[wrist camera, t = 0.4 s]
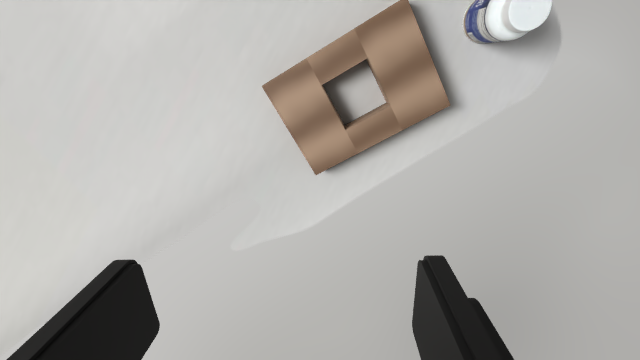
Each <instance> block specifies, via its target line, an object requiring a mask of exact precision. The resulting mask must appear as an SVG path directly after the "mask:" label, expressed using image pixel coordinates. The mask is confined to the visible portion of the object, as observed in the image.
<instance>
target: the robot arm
mask: <svg viewBox="0 0 640 360" xmlns="http://www.w3.org/2000/svg"><path fill="white" fill-rule="evenodd" d="M159 326H160V324H159V320H158V317H157V314H156V311H155V308H154V305H153V301H152V298H151V295H150V292H149V289H148V285H147V283H146V279H145V276H144V273H143V270H142V267H141V265H139V264H137V262H136V261H135V260H115V261H113V262H112V263H111V264H109V265H108V266H107V267H106V268H105V269H104V270H103V271H102V272H101V273H100V274H99V275H98V276H97V277H95V278H94V279H93V280H92V281H91V282H90V283H89V284H88V285H87V286H86V287H85V288H84V289H83V290H81V291H80V292H79V293H78V294H77V295H76V296H75V297H74V298H73V299H72V300H71V301H70V302H68V303H67V304H66V305H65V306H64V307H63V308H62V309H61V310H60V311H59V312H58V313H57V314H56V315H54V316H53V317H52V318H51V319H50V320H49V321H48V322H47V323H46V324H45V325H44V326H43V327H41V329H39V331H37V332H36V333H35V334H34V335H33V336H32V337H31V338H30V339H29V340H28V341H26V342H25V343H24V344H23V345H22V346H21V347H20V348H19V349H18V350H17V351H16V352H15V353H13V354H12V355H11V356H10V357H9V358H8V359H7V360H141V359H142V358H143V356H144V354H145V352H146V351H147V350H148V348H149V346H150V345H151V343H152V342H153V340H154V339H155V337H156V335H157V334H158V331H159ZM412 327H413V333H414V337H415V340H416V343H417V347H418V350H419V353H420V357H421V360H514V359H513V357H512V355H511V354H510V352H509V351H508V349H507V347H506V346H505V344H504V342H503V341H502V339H501V337H500V336H499V334H498V332H497V331H496V329H495V327H494V326H493V324H492V323H491V321H490V319H489V318H488V316H487V314H486V313H485V311H484V309H483V308H482V306H481V304H480V303H479V302H478V301H477V300H476V299H475V298H467V296H466V294H465V292H464V290H463V289H462V287H461V285H460V284H459V282H458V280H457V279H456V276H455V275H454V273H453V271H452V269H451V268H450V266H449V264H448V262H447V261H446V259H445V257H443V256H425V257H424V260H422V261H421V260H419V261H418V268H417V278H416V288H415V299H414V309H413V320H412Z"/></svg>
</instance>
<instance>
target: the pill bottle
mask: <svg viewBox="0 0 640 360" xmlns="http://www.w3.org/2000/svg"><path fill="white" fill-rule="evenodd" d="M551 7H552V0H475V1H473V2H472V3H471V4H470V5H469V7H468V8H467V10H466V11H465V14H464V17H463V22H462V26H463V31H464V33H465V35H466V37H467V38H468V39H469V40H471V41H473V42H475V43H491V42H501V41H510V40H515V39H518V38H520V37H522V36H524V35H525V34H527V33H528V32H529V31H530V30H533V29H535V28H537V27H539V26H540V25H541V24H542V23H543V22H544V21H545V20H546V19H547V17H548V15H549V13H550V11H551Z"/></svg>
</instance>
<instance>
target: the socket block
mask: <svg viewBox="0 0 640 360" xmlns="http://www.w3.org/2000/svg"><path fill="white" fill-rule="evenodd" d="M365 59H366V60H367V62H368V64H369V67H370V69H371V71H372V73H373V75H374V77H375V79H376V81H377V83H378V85H379V88H380V90H381V92H382V94H383V96H384V98H385V100H386V102H387V103H385V104H383V105H381V106H379V107H378V108H376V109H374V110H372V111H370V112H368V113H367V114H365V115H363V116H361V117H359V118H357V119H356V120H354V121H352V122H350V123H348V124H347V125H345V126H344V124H343V122H342V120H341V118H340V116H339V114H338V113H337V111H336V109H335V107H334V105H333V103H332V101H331V100H330V98H329V96H328V94H327V92H326V90H325V88H324V87H323V84H325V83H326V82H328V81H330V80H331V79H333V78H335V77H336V76H338V75H340V74H342V73H343V72H345V71H347V70H348V69H350V68H352V67H353V66H355V65H357V64H358V63H360V62H362V61H364V60H365ZM262 87H263V89H264V91H265V92H266V94H267V96H268V97H269V99H270V101H271V102H272V104H273V105H274V107H275V109H276V110H277V112H278V114H279V115H280V117H281V119H282V120H283V122H284V124H285V125H286V127H287V128H288V130H289V132H290V133H291V135H292V137H293V138H294V140H295V142H296V143H297V145H298V147H299V148H300V150H301V151H302V153H303V155H304V156H305V158H306V160H307V161H308V163H309V165H310V166H311V168H312V170H313V171H314V173H315V174H316V175H317V174H319V173H321V172H323V171H325V170H327V169H329V168H331V167H333V166H335V165H337V164H338V163H340V162H342V161H344V160H346V159H348V158H350V157H352V156H354V155H356V154H358V153H360V152H362V151H363V150H365V149H367V148H369V147H371V146H373V145H375V144H377V143H379V142H381V141H383V140H385V139H387V138H388V137H390V136H392V135H394V134H396V133H398V132H400V131H402V130H404V129H406V128H408V127H410V126H412V125H413V124H415V123H417V122H419V121H421V120H423V119H425V118H427V117H429V116H431V115H433V114H435V113H437V112H438V111H440V110H442V109H444V108H446V107H448V106H450V103H449V100H448V98H447V95H446V93H445V90H444V88H443V85H442V83H441V80H440V78H439V75H438V73H437V71H436V68H435V66H434V63H433V61H432V58H431V56H430V53H429V51H428V48H427V46H426V43H425V41H424V38H423V36H422V34H421V31H420V29H419V26H418V24H417V21H416V19H415V16H414V14H413V11H412V9H411V6H410V4H409V1H408V0H400V1H398V2H396V3H395V4H393V5H392V6H390V7H388V8H387V9H385V10H384V11H382V12H380V13H379V14H377V15H376V16H374V17H372V18H371V19H369V20H367V21H366V22H364V23H363V24H361V25H359V26H358V27H356V28H355V29H353V30H351V31H350V32H348V33H346V34H345V35H343V36H342V37H340V38H338V39H337V40H335V41H334V42H332V43H330V44H329V45H327V46H326V47H324V48H322V49H321V50H319V51H317V52H316V53H314V54H313V55H311V56H309V57H308V58H306V59H305V60H303V61H301V62H300V63H298V64H296V65H295V66H293V67H292V68H290V69H288V70H287V71H285V72H284V73H282V74H280V75H279V76H277V77H276V78H274V79H272V80H271V81H269V82H267V83H266V84H264V85H263V86H262Z"/></svg>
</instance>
